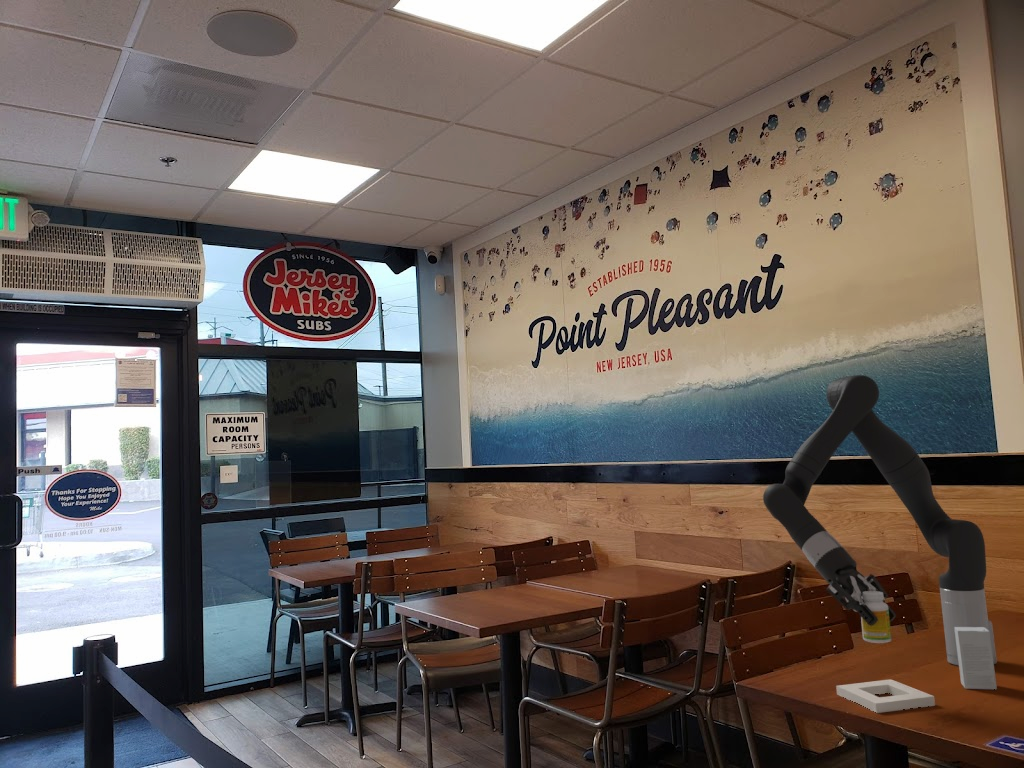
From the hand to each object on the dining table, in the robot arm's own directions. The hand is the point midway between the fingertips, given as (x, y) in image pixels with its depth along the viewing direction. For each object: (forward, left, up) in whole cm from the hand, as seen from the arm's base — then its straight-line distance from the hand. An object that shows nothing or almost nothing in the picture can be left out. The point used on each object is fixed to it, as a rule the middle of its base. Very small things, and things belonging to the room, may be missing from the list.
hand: (883, 620), depth 159 cm
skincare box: (-22, -2, -16) cm, 28 cm away
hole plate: (+1, -1, -16) cm, 16 cm away
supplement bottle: (+1, -2, -4) cm, 5 cm away
